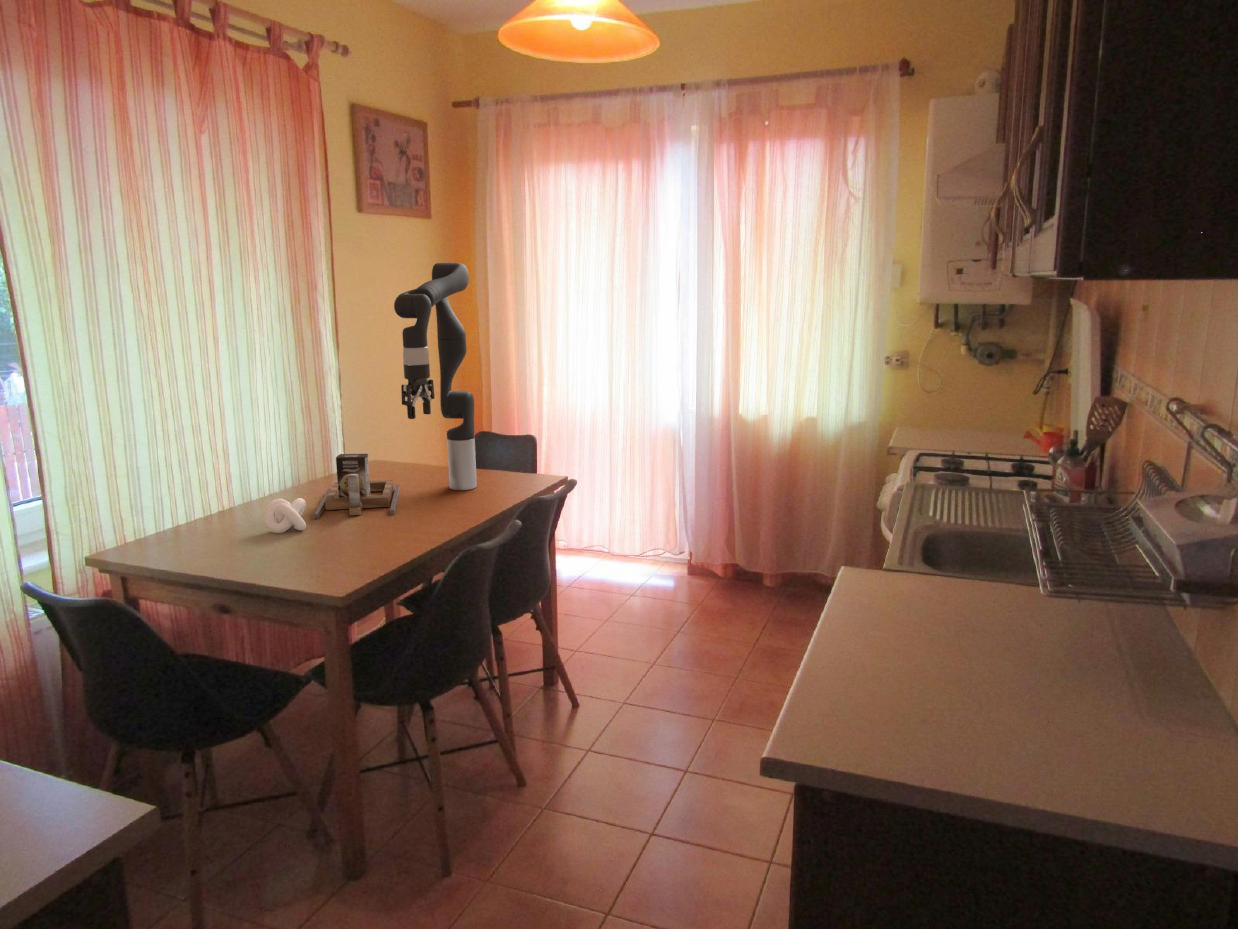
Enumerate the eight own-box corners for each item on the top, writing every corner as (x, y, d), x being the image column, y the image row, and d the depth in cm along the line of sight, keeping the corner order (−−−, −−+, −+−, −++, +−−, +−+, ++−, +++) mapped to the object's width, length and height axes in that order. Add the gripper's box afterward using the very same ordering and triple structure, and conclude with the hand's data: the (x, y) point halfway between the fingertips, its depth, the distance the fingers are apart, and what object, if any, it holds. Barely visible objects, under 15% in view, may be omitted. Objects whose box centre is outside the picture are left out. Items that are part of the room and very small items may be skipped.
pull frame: (335, 491, 292) (332, 456, 289) (393, 488, 295) (391, 453, 292) (322, 517, 261) (318, 478, 258) (386, 513, 264) (384, 475, 262)
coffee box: (338, 507, 273) (334, 457, 269) (342, 502, 279) (338, 453, 275) (368, 506, 274) (364, 456, 270) (371, 501, 280) (368, 452, 276)
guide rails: (328, 493, 290) (328, 488, 290) (399, 489, 295) (399, 485, 294) (314, 519, 260) (313, 514, 259) (394, 514, 264) (393, 509, 264)
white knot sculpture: (262, 538, 242) (259, 507, 240) (267, 526, 253) (264, 496, 251) (305, 534, 245) (302, 504, 243) (308, 523, 256) (305, 493, 254)
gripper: (418, 359, 263) (421, 412, 267) (391, 364, 250) (395, 419, 254) (439, 360, 261) (442, 413, 264) (414, 365, 248) (417, 421, 251)
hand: (419, 416), depth 259 cm, fingers open, 8 cm apart
